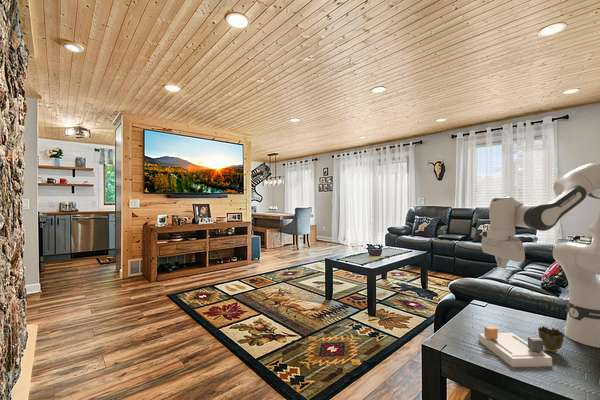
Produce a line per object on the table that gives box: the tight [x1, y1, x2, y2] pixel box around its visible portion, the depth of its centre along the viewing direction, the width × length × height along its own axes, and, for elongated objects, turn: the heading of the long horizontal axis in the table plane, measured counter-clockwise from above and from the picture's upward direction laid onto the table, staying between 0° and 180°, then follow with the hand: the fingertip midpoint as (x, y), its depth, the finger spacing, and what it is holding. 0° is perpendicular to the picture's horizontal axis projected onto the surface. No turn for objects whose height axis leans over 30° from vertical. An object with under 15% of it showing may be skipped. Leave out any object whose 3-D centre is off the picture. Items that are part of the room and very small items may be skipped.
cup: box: [537, 325, 565, 354], centre depth 107 cm, size 8×7×8 cm
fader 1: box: [483, 325, 499, 339], centre depth 111 cm, size 4×2×4 cm, turn 91°
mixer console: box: [478, 332, 553, 368], centre depth 107 cm, size 14×18×3 cm
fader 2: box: [527, 336, 544, 352], centre depth 103 cm, size 4×2×4 cm, turn 92°
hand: (501, 267), depth 119 cm, fingers closed
